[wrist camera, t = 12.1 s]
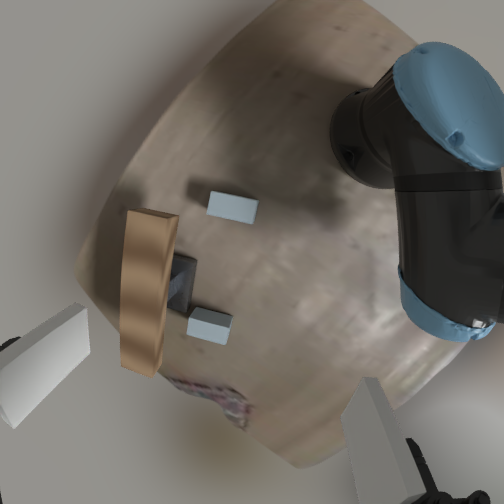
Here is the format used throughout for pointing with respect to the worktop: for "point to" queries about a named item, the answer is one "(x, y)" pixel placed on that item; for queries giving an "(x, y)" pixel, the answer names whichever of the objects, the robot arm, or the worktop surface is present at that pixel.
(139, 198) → the worktop surface
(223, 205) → the posts
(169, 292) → the fulcrum
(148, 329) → the plank
